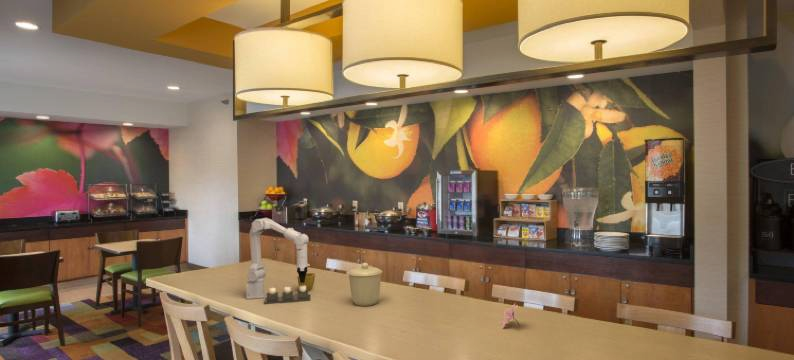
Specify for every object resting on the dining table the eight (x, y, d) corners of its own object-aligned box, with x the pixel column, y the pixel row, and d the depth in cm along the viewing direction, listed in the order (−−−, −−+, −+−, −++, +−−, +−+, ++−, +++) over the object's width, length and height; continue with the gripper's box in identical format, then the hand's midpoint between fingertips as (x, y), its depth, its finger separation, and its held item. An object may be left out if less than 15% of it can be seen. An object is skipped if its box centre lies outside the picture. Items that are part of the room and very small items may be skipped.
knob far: (299, 293, 245) (299, 287, 245) (299, 291, 249) (299, 285, 249) (306, 293, 246) (306, 286, 246) (306, 291, 250) (306, 285, 250)
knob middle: (284, 294, 244) (284, 288, 244) (284, 293, 247) (284, 286, 247) (291, 294, 245) (290, 287, 245) (291, 292, 248) (291, 286, 248)
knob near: (268, 295, 242) (268, 289, 242) (269, 294, 246) (269, 287, 246) (275, 295, 243) (275, 288, 243) (276, 293, 247) (275, 287, 247)
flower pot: (312, 291, 263) (312, 276, 263) (297, 292, 263) (297, 276, 263) (315, 288, 272) (315, 273, 272) (301, 288, 272) (300, 273, 272)
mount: (264, 304, 239) (263, 296, 239) (265, 299, 249) (265, 292, 249) (310, 300, 243) (310, 293, 243) (310, 296, 253) (310, 288, 253)
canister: (341, 306, 232) (340, 264, 232) (360, 297, 248) (359, 258, 248) (371, 310, 224) (370, 267, 224) (389, 300, 240) (388, 260, 240)
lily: (507, 322, 204) (497, 304, 204) (531, 315, 198) (520, 297, 197) (501, 338, 194) (490, 320, 194) (526, 332, 188) (515, 313, 187)
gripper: (309, 258, 241) (310, 284, 241) (309, 254, 255) (309, 278, 255) (295, 259, 240) (296, 285, 240) (296, 254, 254) (297, 279, 254)
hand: (302, 281), depth 248 cm, fingers open, 4 cm apart
